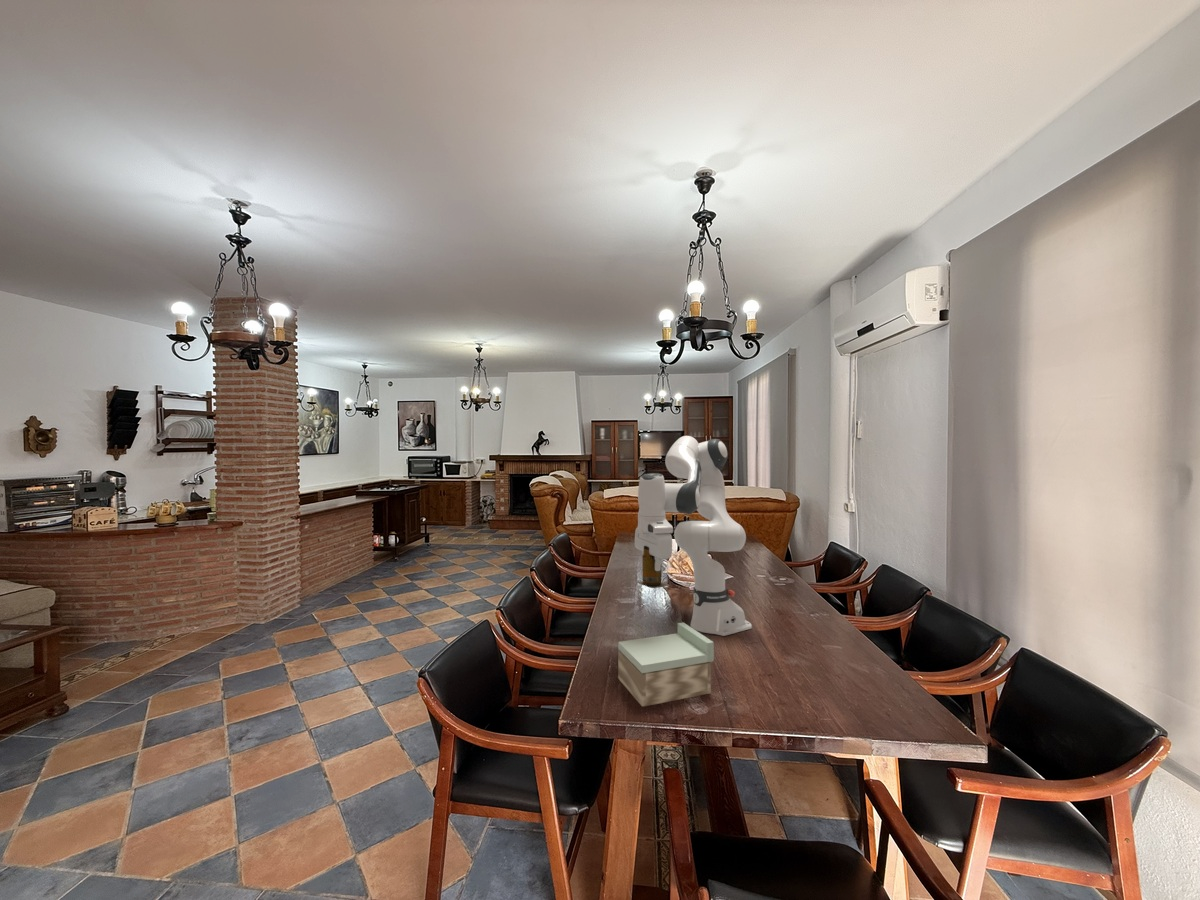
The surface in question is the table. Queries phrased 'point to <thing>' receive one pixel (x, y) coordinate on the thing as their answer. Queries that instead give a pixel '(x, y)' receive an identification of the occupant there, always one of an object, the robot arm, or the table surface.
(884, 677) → the table surface
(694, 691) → the box
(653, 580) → the condiment
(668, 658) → the lid
